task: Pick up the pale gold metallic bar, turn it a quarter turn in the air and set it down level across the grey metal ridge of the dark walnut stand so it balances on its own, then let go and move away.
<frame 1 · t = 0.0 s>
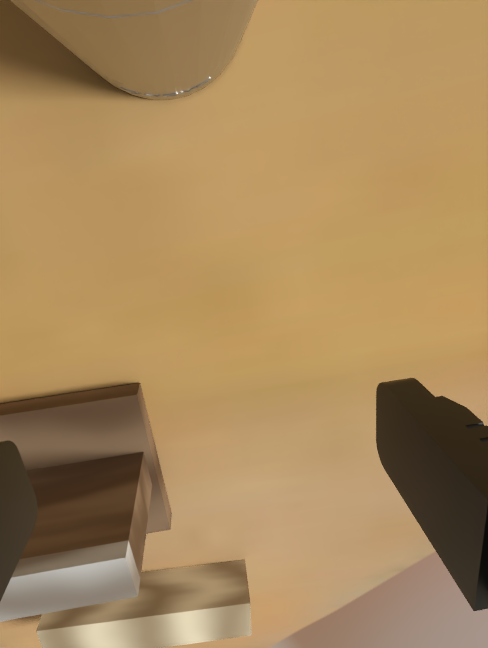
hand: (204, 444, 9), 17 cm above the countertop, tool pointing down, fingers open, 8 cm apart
pale gold metallic bar: (153, 583, 36), on the countertop
balance stand: (87, 464, 30), on the countertop
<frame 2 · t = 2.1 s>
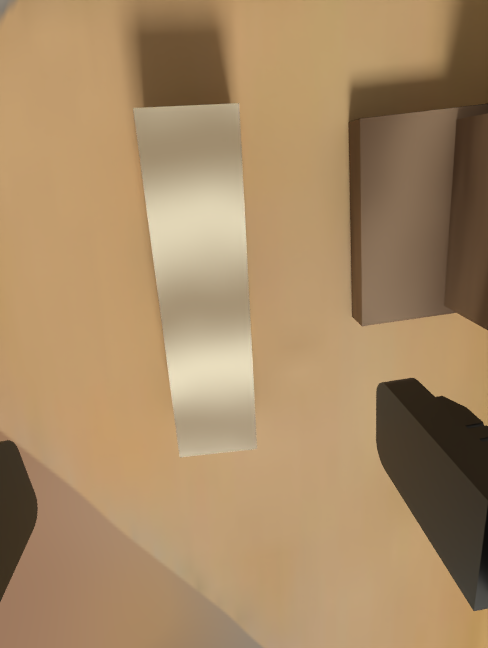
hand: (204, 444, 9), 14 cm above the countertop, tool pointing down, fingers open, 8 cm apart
pale gold metallic bar: (204, 283, 22), on the countertop
balance stand: (460, 213, 22), on the countertop
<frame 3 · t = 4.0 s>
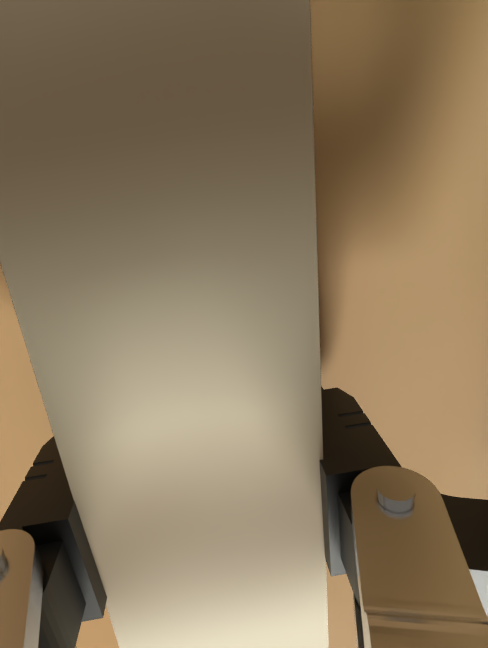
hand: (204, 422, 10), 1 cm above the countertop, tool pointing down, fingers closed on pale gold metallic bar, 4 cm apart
pale gold metallic bar: (205, 407, 11), on the countertop, touching gripper
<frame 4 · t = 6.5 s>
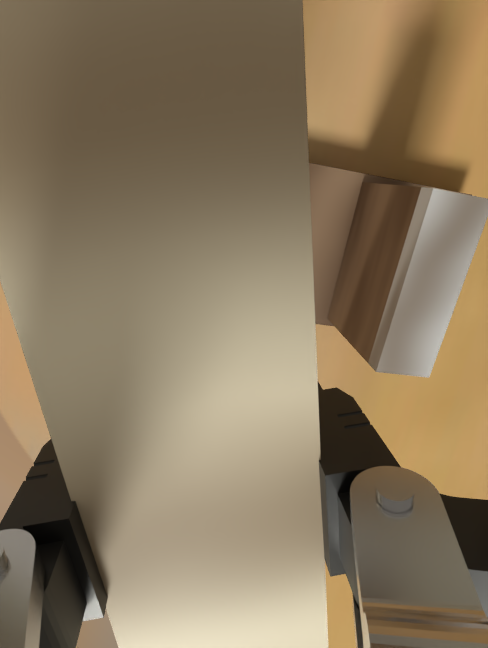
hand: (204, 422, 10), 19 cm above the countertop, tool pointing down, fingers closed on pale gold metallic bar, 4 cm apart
pale gold metallic bar: (203, 407, 11), point 18 cm above the countertop, touching gripper
balance stand: (356, 253, 28), on the countertop
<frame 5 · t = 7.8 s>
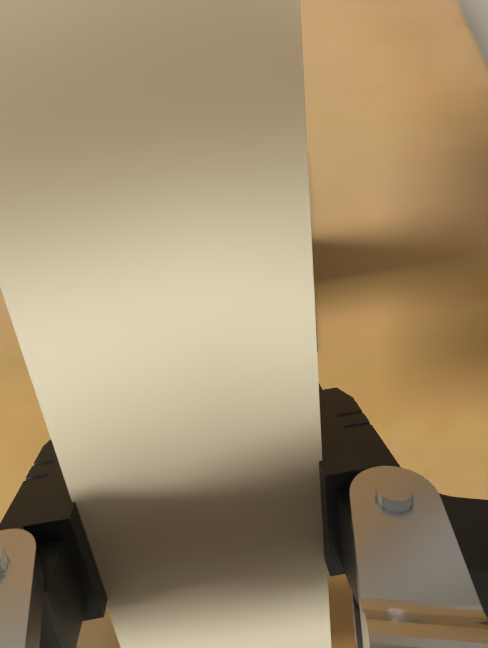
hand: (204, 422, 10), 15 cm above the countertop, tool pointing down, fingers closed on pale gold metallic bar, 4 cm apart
pale gold metallic bar: (204, 406, 11), point 15 cm above the countertop, touching gripper
when the fingers open (11 cm above the countertop, at t = 9.0 s): pale gold metallic bar stays where it is, resting on balance stand.
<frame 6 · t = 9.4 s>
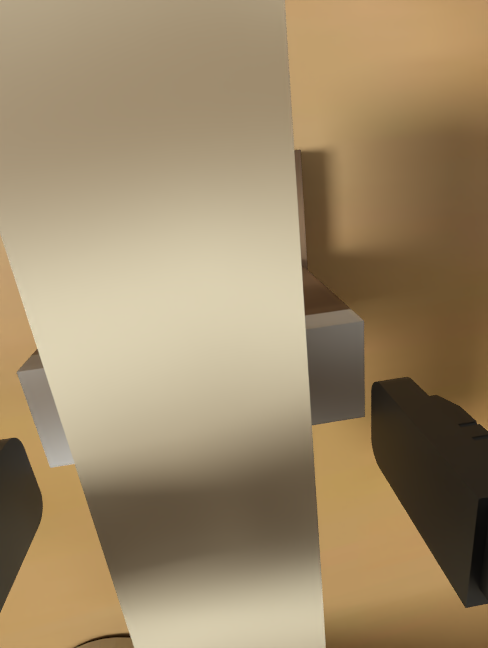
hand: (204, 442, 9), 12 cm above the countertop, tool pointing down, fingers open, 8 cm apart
pale gold metallic bar: (204, 397, 11), point 9 cm above the countertop, touching balance stand
balance stand: (200, 296, 20), on the countertop
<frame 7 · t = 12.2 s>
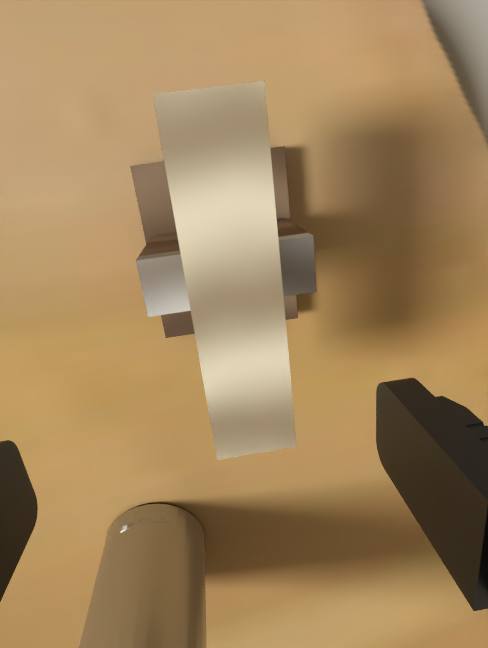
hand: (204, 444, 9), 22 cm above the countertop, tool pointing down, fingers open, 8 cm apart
pale gold metallic bar: (230, 277, 21), point 9 cm above the countertop, touching balance stand
balance stand: (220, 244, 30), on the countertop
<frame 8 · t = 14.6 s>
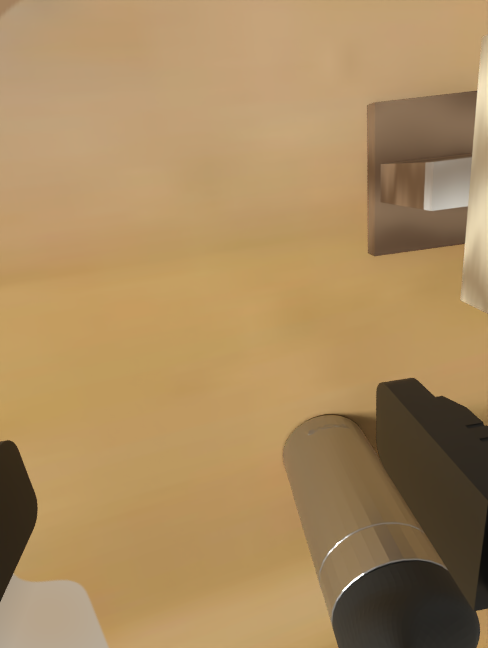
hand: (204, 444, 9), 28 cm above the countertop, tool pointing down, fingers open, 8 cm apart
balance stand: (423, 176, 35), on the countertop
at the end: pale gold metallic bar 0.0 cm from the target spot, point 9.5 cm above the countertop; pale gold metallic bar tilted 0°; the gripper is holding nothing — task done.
